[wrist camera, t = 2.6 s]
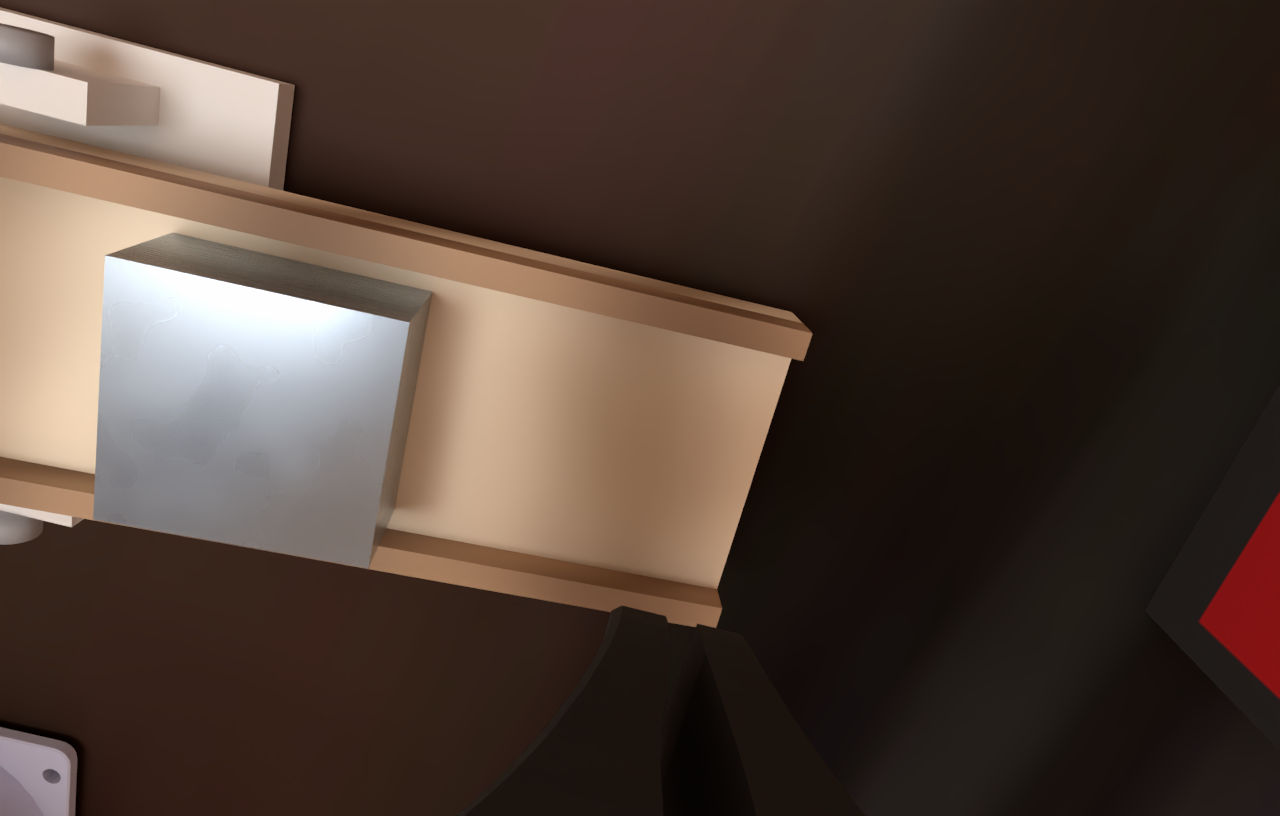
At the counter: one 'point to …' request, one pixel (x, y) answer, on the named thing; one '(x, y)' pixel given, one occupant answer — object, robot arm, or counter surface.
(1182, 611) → the cleaning product box
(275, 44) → the counter surface
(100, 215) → the beam
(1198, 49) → the counter surface
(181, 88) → the fulcrum stand
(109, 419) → the steel block
